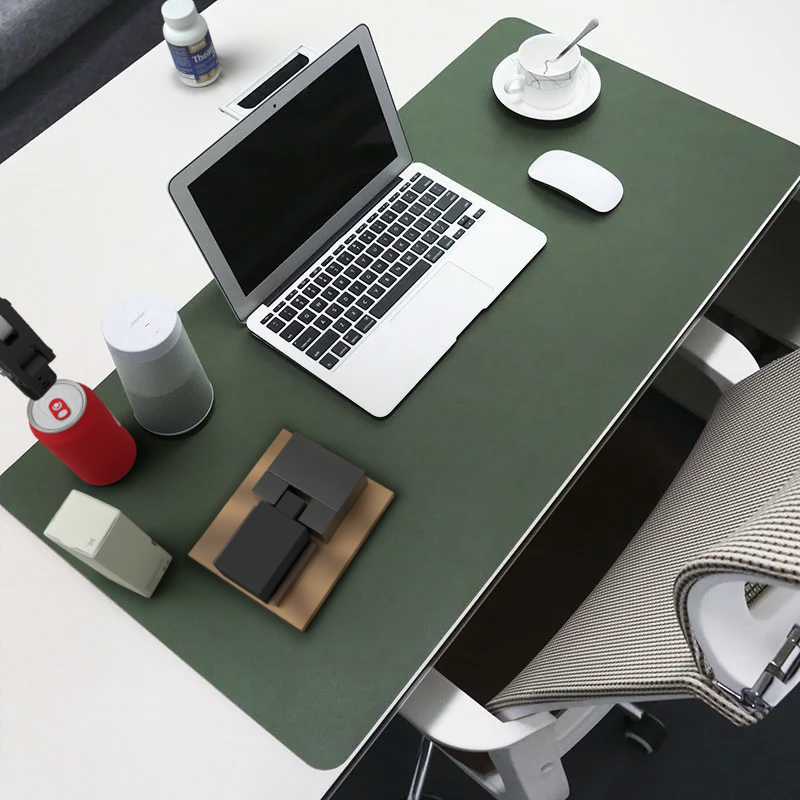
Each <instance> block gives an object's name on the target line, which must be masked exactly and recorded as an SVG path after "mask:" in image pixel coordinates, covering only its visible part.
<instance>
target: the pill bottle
mask: <svg viewBox="0 0 800 800" xmlns="http://www.w3.org/2000/svg"><path fill="white" fill-rule="evenodd" d="M197 10H198V9H197V7H196V5H195V1H193V0H166V1H165V2H164V3H163V4H162V6H161V15H162V18H163V21H164V23H163V25H162V33H163V37H164V39H165V42H166V45H167V47H168V50H169V53H170V56H171V58H172V62H173V63H174V66H175V69H176V72H177V75H178V77H179V79H180V81H181V82H182V83H183V84H185V85H187V86H189V87H193V88H200V87H205V86H208V85H210V84H212V83H213V82H214V81H216V80H217V78H218V77H219V76H220V73H221V65H220V62H219V58H218V54H217V52H216V48H215V46H214V42H213V39H212V36H211V32H210V29H209V26H208V23H207V20H206V18H205V17H204V16H203V15H202V14H200V13H198V11H197Z"/></svg>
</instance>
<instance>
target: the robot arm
mask: <svg viewBox="0 0 800 800" xmlns="http://www.w3.org/2000/svg"><path fill="white" fill-rule="evenodd" d="M56 358H57V355H56V354H55V353H54V350H53V349H52V348H51V347H50V346H49V345H47V344H46V343H45V341H44V340H43V339H42V338H41V337H40V336H39V335H38V333H36V331H35V330H34V329H33V328H32V327H31V325H29V323H28V322H27V321H26V320H25V319H24V318H23V317H22V316H21V314H20V313H19V312H18V311H17V310H16V309H15V308H14V306H12V303H11V302H10V301H9V299H7V298H5V297H4V298H2V296H0V376H2V377H4V378H5V377H6V378H7V380H9V381H10V382H11V383H12V384H13V385H14V386H15V387H16V388H17V389H18V390H19V391H20V392H21V393H22V394H23V395H24V396H25V397H26V398H28V399H32V400H33V401H37V400H39V399H40V398H42V397H43V396H44V395H45V394H46V393H47V392H48V391H49V389H50V388H51V387H52V386H53V385H54V384H55V383H56V382H57V381H56V380H57V379H58V375H57V373H56V372H55V371H54V370H53V369H52V368H51V366H50V364H51V363H52V362H53V361H55V359H56Z"/></svg>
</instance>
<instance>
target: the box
mask: <svg viewBox="0 0 800 800" xmlns="http://www.w3.org/2000/svg"><path fill="white" fill-rule="evenodd" d="M43 535H44V536H45V537H46V538H48V539H49V540H50V541H51V542H53V543H55V544H56V545H57V546H59V547H60V548H62V549H64V550H65V551H67V552H68V553H70V554H71V555H72V556H74V557H75V558H77V559H79V560H80V561H81V562H83V563H84V564H86V565H88V566H89V567H90V568H92V569H93V570H94V571H96V572H98V573H99V574H101V575H102V576H104V577H105V578H107V579H108V580H110V581H112V582H114V583H116V584H117V585H119V586H121V587H124V588H126V589H128V590H130V591H132V592H134V593H136V594H139V595H141V596H142V597H145V598H147V599H149V598H151V596H152V595H153V593H154V592H155V590H156V588H157V587H158V585H159V583H160V582H161V580H162V577H163V576H164V574H165V572H166V571H167V569H168V568H169V565H170V564H171V561H172V559H173V556H172V555H171V554H170V553H168V551H166V550H165V549H164V548H163V547H162V546H161V545H160V544H158V543H157V542H156V541H155V540H153V538H152V537H150V536H149V535H148V534H147V533H146V532H145V531H144V530H143V529H141V527H139V526H138V525H136V523H134V522H133V521H132V520H131V519H130V518H129V517H127V516H126V515H125V514H124V513H123V511H121V510H120V509H118V508H116V507H114V506H112V505H111V504H108V503H107V502H104V501H102V500H100V499H98V498H96V497H93V496H91V495H89V494H86V493H84V492H81V491H79V490H77V489H72V490H71V491H70V492H69V494H68V496H67V497H66V498H65V499H64V501H63V502H62V504H61V506H60V507H59V509H58V510H57V511H56V513H55V514H54V516H53V517H52V519H51V520H50V522H49V523H48V525H47V526H46V528H45V530H44V531H43Z"/></svg>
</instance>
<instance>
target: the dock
mask: <svg viewBox="0 0 800 800" xmlns="http://www.w3.org/2000/svg"><path fill="white" fill-rule="evenodd" d="M287 491H290V492H291V493H293V494H295V495H296V496H298V497H300V498H301V499H303V500H305V502H306V504H307V507H306V509H305V510H304V511H303V513H302V514H301V516H300V517H299V518H298V521H299V524H301V525H303V526H304V527H306V529H307V531H308V533H309V535H310V537H311V539H312V540H311V542H310V543H309V545H308V546H307V548H306V549H305V550H304V552H303V553H302V555H301V556H300V558H299V559H298V560H297V562H296V563H295V565H294V566H293V568H292V569H291V571H290V572H289V573H288V575H287V576H286V578H285V579H284V581H283V582H282V583H281V585H280V586H279V588H278V589H277V591H276V592H275V594H274V595H273V596H272V598H271V599H270V601H269V602H268V604H265V603H264V602H262V601H261V600H259V599H258V598H256V597H255V596H253V595H252V594H250V593H249V592H247V591H246V590H244V589H243V588H241V587H240V586H238V585H237V584H235V583H234V582H232V581H231V580H229V579H228V578H226V577H224V576H223V575H222V574H221V573H220V572H219V570H218V569H217V568H216V567H215V566H214V563H215V562H216V561H217V559H218V558H219V556H220V555H221V554H222V552H223V551H224V550H225V548H226V547H227V546H228V544H229V543H230V542H231V540H232V539H233V537H234V536H235V535H236V533H237V532H238V531H239V529H240V528H241V527H242V525H243V524H244V523H245V521H246V520H247V518H248V517H249V516H250V514H251V513H252V512H253V510H254V509H255V508H256V506H257V505H258V504H259V502H260V501H261V500H262V501H264V502H265V503H267V504H269V505H270V506H272V507H273V508H275V507H276V506H277V504H278V503H279V501H280V500H281V499H282V497H283V496H284V495H285V493H286V492H287ZM394 498H395V493H394V492H393V491H392V490H390V489H389V488H387V487H385V486H384V485H382V484H379V483H378V482H376V481H375V480H373V479H371V478H370V477H368V476H367V473H366V471H364V470H363V469H361V468H360V467H358V466H356V465H354V464H353V463H351V462H349V461H348V460H346V459H344V458H342V457H341V456H339V455H337V454H335V453H334V452H332V451H330V450H328V449H327V448H325V447H324V446H321V445H320V444H318V443H317V442H315V441H314V440H311V439H310V438H308V437H306V436H304V435H303V434H301V433H299V432H298V431H295V432H293V433H292V432H290V431H289V430H287V429H285V428H282V429H281V431H280V432H279V433H278V434H277V436H276V438H275V439H274V440H273V441H272V442H271V444H270V445H269V446H268V447H267V449H266V451H264V453H263V455H262V456H261V457H260V458H259V460H258V461H257V462H256V464H255V465H254V467H252V469H250V472H249V473H248V474H247V475H246V477H245V478H244V479H243V481H242V483H241V484H240V485H239V486H238V487H237V489H236V490H235V492H234V493H233V494H232V495H231V497H230V498H229V500H228V501H226V504H224V506H223V508H222V509H221V510H220V512H219V513H218V514H217V516H216V517H215V518H214V519H213V520H212V522H211V523H210V525H209V526H208V527H207V529H206V530H205V531H204V533H202V535H201V536H200V538H199V539H198V541H197V542H196V543H195V544H194V545H193V547H192V548H191V550H190V551H189V552H188V554H187V556H188V557H189V558H190V559H192V560H193V561H195V562H196V563H197V564H199V565H200V566H202V567H204V568H205V569H206V570H208V571H210V573H213V574H214V575H216V576H217V577H218V578H220V579H221V580H223V581H224V582H226V583H228V584H229V585H231V586H232V587H234V588H235V589H237V590H238V591H239V592H241V593H243V595H246V596H247V597H249V598H250V599H252V600H253V601H254V602H256V603H258V604H259V605H260V606H262V607H264V608H265V609H267V610H268V611H270V612H271V613H273V614H274V615H276V616H277V617H279V618H280V619H282V620H283V621H285V622H286V623H288V624H289V625H291V626H292V627H294V628H295V629H297V630H299V631H300V632H301V633H303V632H305V630H306V629H307V628H308V626H309V624H310V623H311V622H312V620H313V619H314V617H315V616H316V615H317V613H318V611H319V610H320V608H321V607H322V605H323V604H324V602H325V601H326V600H327V598H328V597H329V595H330V593H331V591H332V590H333V589H334V587H335V586H336V584H337V583H338V581H339V580H340V578H341V577H342V575H343V574H344V573H345V571H346V570H347V568H348V566H349V565H350V563H351V562H352V560H353V559H354V558H355V556H356V554H357V553H358V551H359V550H360V549H361V547H362V546H363V544H364V542H365V541H366V539H367V538H368V536H369V535H370V533H371V532H372V531H373V529H374V528H375V526H376V524H377V523H378V521H379V520H380V519H381V517H382V515H384V513H385V511H386V510H387V509H388V507H389V505H390V504H391V502H392V501H393V499H394Z"/></svg>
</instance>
